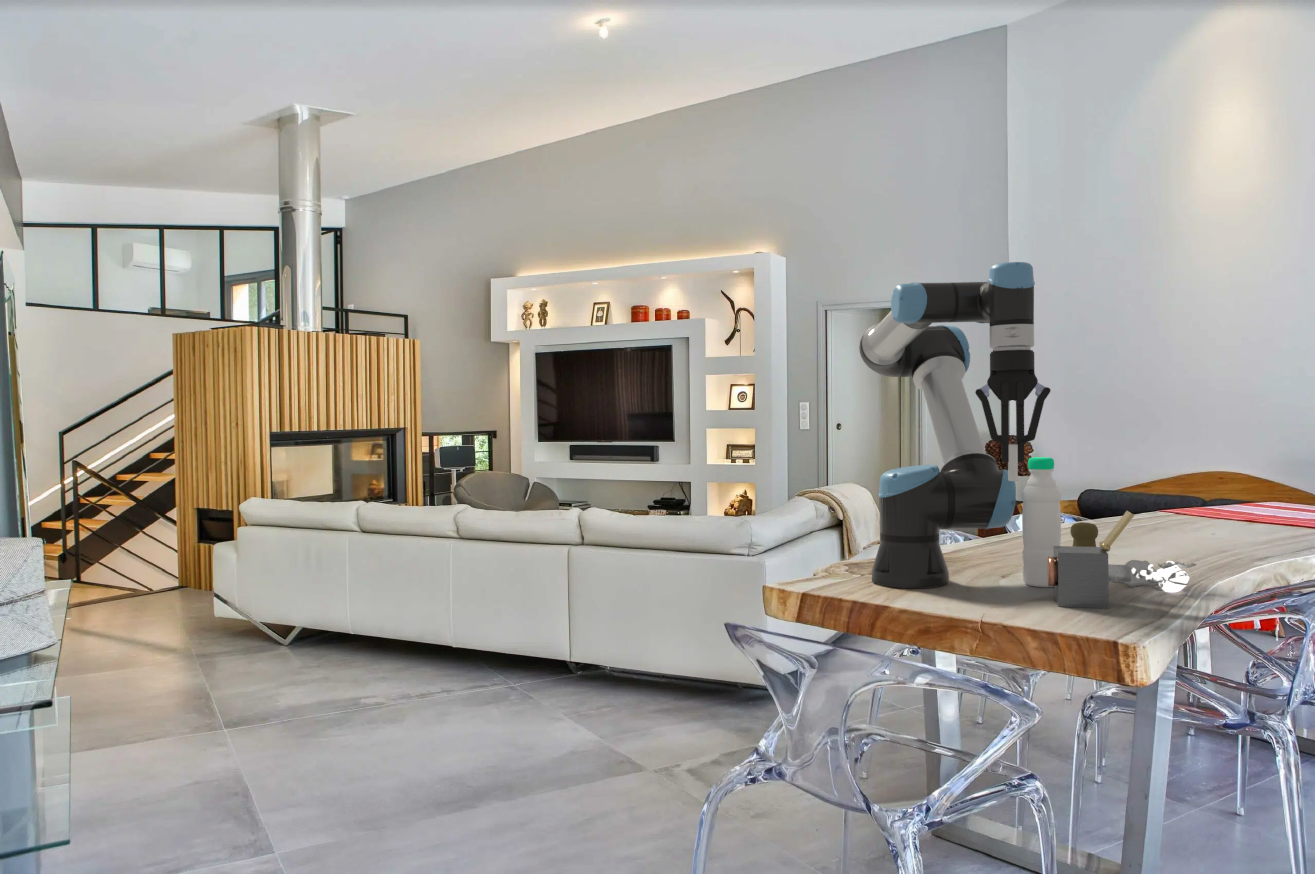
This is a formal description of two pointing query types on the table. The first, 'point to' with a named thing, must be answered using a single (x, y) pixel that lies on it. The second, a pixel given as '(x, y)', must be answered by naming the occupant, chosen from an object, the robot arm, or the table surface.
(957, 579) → the table surface
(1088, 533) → the cork
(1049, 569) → the pin
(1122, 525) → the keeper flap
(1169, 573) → the figurine
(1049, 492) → the water bottle
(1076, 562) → the block
